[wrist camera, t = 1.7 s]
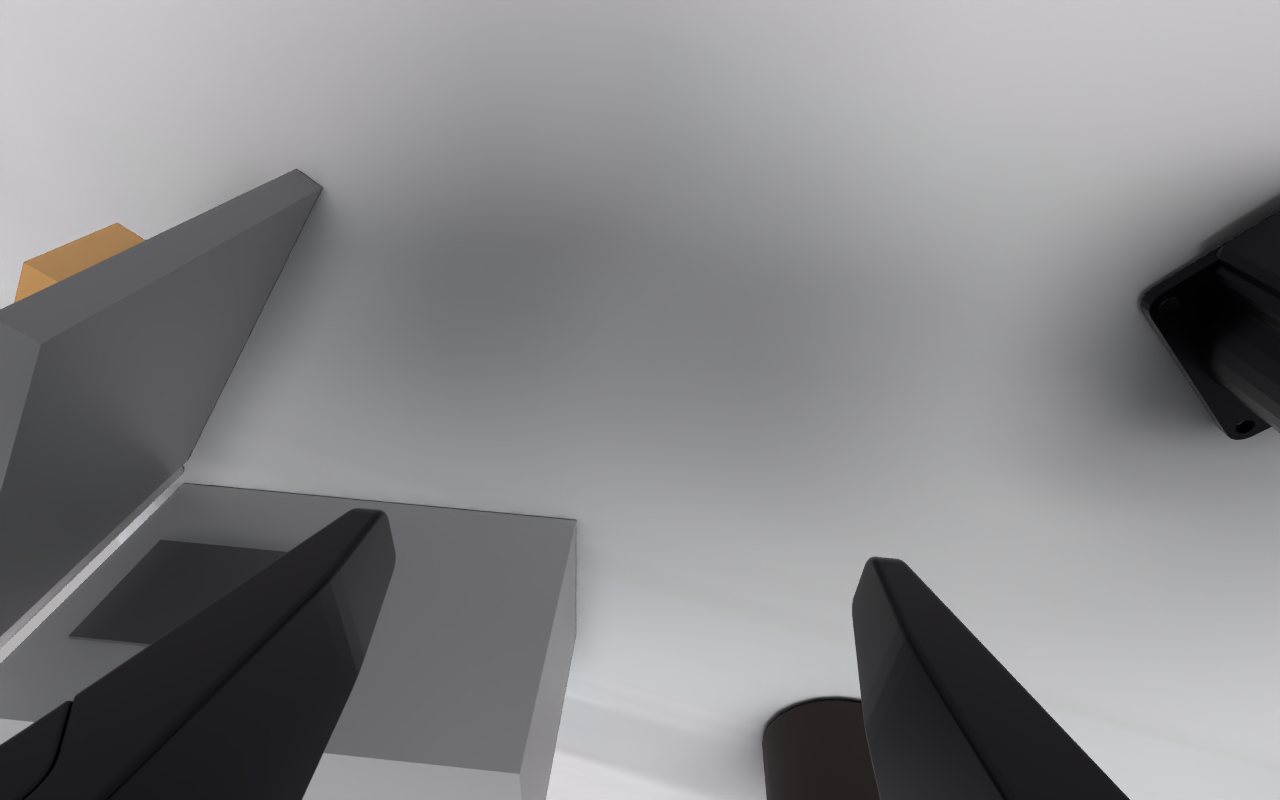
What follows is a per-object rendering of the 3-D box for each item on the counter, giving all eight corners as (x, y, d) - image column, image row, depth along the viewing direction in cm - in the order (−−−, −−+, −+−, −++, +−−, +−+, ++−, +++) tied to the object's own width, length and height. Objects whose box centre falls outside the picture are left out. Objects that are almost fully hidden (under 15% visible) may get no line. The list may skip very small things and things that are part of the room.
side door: (179, 479, 25) (-57, 708, 17) (126, 451, 25) (-144, 676, 17) (324, 188, 19) (44, 345, 11) (255, 140, 18) (-95, 269, 10)
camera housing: (576, 517, 25) (508, 821, 16) (575, 635, 29) (520, 933, 20) (182, 481, 25) (-99, 755, 16) (234, 602, 29) (31, 876, 20)
